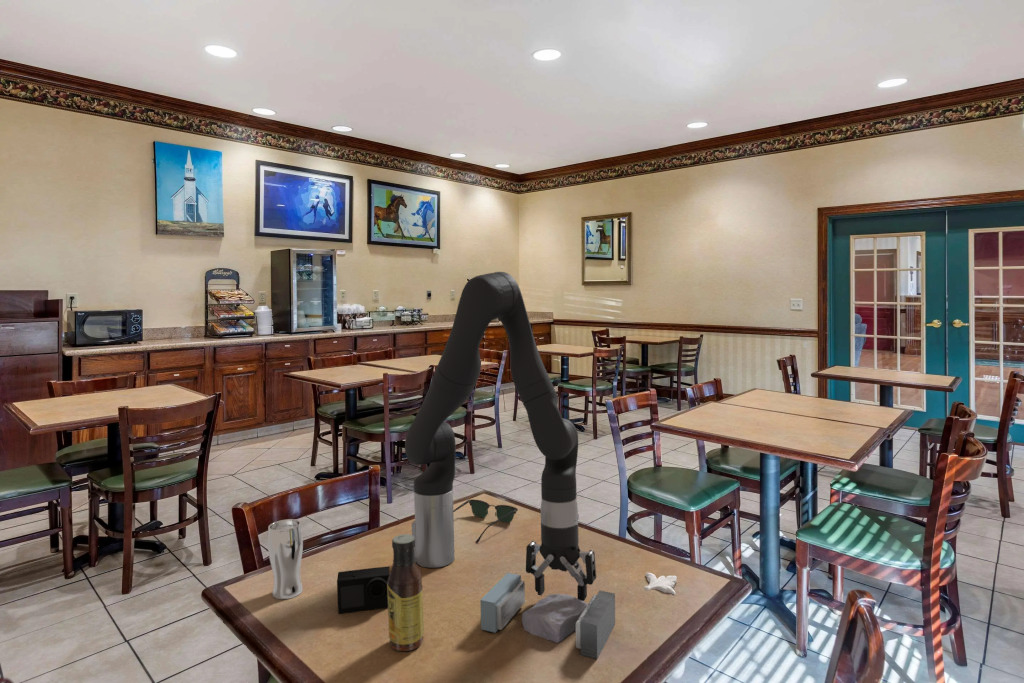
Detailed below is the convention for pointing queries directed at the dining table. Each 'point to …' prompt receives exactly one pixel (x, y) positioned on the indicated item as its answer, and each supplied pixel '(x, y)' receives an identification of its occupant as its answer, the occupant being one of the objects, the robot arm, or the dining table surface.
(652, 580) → the acanthus leaf ornament
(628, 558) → the dining table surface
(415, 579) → the sauce bottle
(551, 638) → the stone block
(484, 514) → the sunglasses
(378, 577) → the digital camera
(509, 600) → the block
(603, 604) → the block
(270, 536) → the beer glass
